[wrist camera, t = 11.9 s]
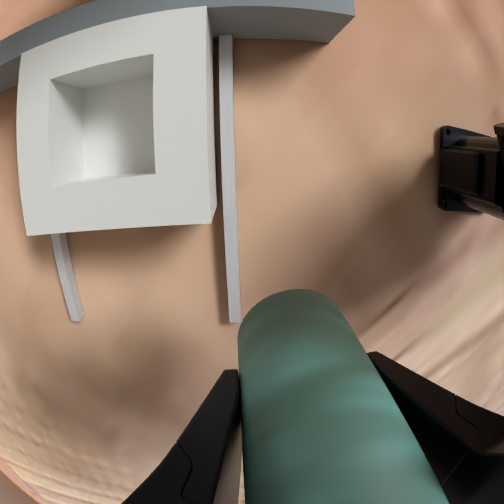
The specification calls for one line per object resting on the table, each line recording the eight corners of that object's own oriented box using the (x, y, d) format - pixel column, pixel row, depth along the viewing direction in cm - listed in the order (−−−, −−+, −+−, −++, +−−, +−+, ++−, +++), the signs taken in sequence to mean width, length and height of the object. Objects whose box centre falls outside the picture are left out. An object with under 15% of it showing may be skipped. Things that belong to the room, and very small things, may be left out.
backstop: (326, 19, 15) (351, -13, 11) (325, 309, 22) (346, 349, 17) (-4, 74, 14) (-42, 67, 9) (23, 311, 21) (-6, 340, 16)
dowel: (348, 284, 10) (485, 474, 3) (339, 371, 11) (409, 541, 4) (232, 294, 10) (240, 548, 2) (241, 382, 11) (254, 576, 4)
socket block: (213, 39, 15) (206, 5, 11) (217, 204, 19) (211, 223, 14) (61, 67, 15) (21, 53, 10) (66, 216, 18) (26, 235, 14)
